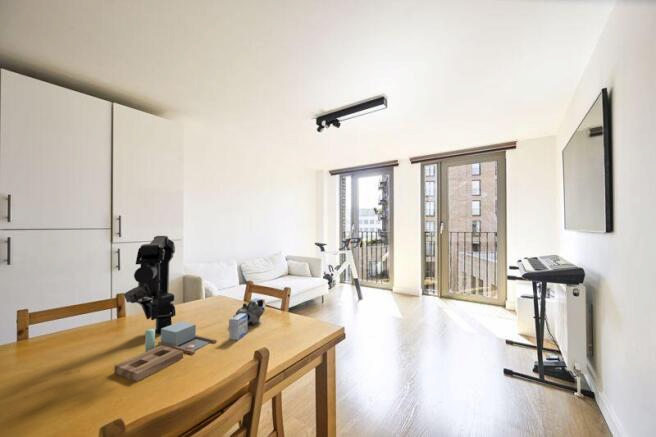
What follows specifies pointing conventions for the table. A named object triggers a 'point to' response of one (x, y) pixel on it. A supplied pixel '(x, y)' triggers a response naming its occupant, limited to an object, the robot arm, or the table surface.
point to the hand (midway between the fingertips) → (150, 319)
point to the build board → (148, 362)
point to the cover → (178, 333)
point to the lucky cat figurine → (253, 310)
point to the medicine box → (238, 326)
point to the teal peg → (149, 339)
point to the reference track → (191, 344)
